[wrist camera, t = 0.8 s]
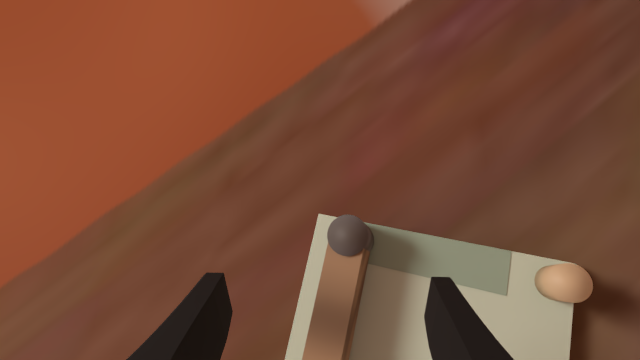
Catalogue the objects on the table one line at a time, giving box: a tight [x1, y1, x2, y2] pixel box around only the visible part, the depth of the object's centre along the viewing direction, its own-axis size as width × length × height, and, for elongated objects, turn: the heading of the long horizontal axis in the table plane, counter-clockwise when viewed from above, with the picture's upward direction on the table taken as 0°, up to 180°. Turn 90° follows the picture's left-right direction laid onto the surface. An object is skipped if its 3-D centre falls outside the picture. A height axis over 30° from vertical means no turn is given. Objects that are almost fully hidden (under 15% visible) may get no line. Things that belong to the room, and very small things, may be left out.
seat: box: [285, 214, 593, 360], centre depth 24 cm, size 14×18×4 cm
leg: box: [302, 215, 374, 360], centre depth 25 cm, size 12×3×3 cm, turn 166°
